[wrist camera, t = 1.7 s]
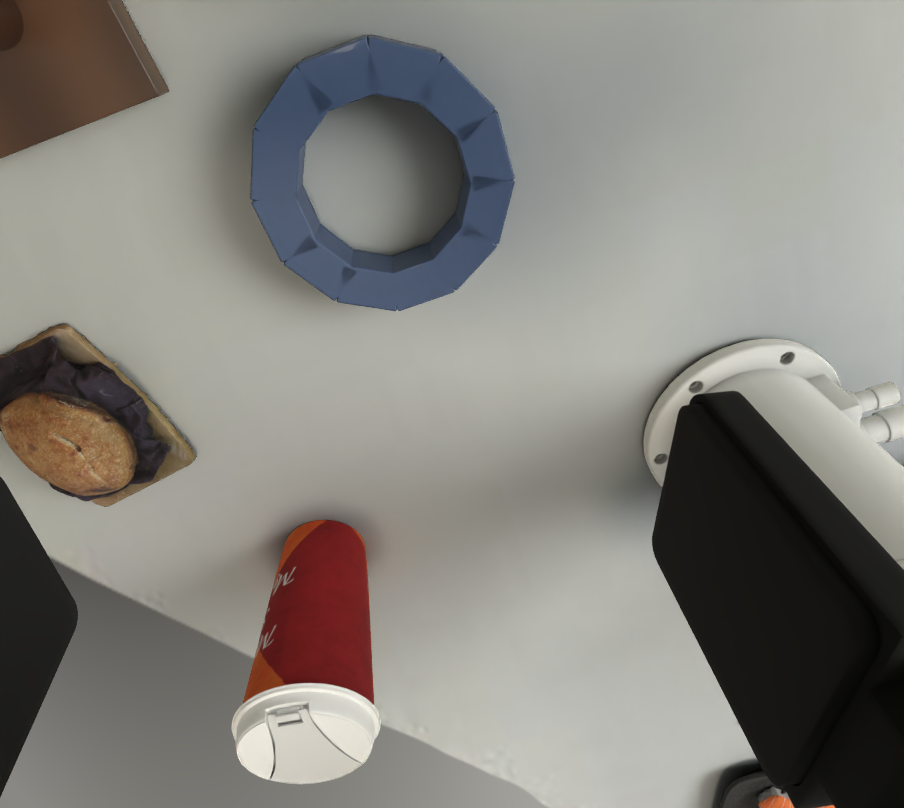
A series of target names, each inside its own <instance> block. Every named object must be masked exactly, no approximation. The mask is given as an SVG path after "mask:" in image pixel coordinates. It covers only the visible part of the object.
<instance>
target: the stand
mask: <svg viewBox="0 0 904 808" xmlns="http://www.w3.org/2000/svg"><path fill="white" fill-rule="evenodd" d="M167 92H169V89H168V88H167V86H166V84H165V82H164V80H163V78H162V76H161V74H160V72H159V71H158V69H157V67H156V65H155V63H154V61H153V59H152V57H151V55H150V53H149V52H148V50H147V48H146V46H145V44H144V42H143V40H142V38H141V36H140V35H139V33H138V31H137V29H136V27H135V25H134V23H133V21H132V19H131V17H130V16H129V14H128V12H127V10H126V8H125V6H124V4H123V2H122V0H0V158H3V157H5V156H8V155H10V154H13V153H15V152H18V151H20V150H23V149H25V148H28V147H31V146H33V145H36V144H38V143H41V142H43V141H46V140H48V139H51V138H53V137H56V136H58V135H61V134H64V133H66V132H69V131H71V130H74V129H76V128H79V127H81V126H84V125H86V124H89V123H91V122H94V121H97V120H99V119H102V118H104V117H107V116H109V115H112V114H114V113H117V112H119V111H122V110H124V109H127V108H130V107H132V106H135V105H137V104H140V103H142V102H145V101H147V100H150V99H152V98H155V97H157V96H160V95H162V94H164V93H167Z"/></svg>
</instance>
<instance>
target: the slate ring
mask: <svg viewBox="0 0 904 808" xmlns="http://www.w3.org/2000/svg"><path fill="white" fill-rule="evenodd" d="M372 94H376V95H381V96H385V97H390V98H395V99H399V100H404V101H408V102H413V103H417V104H421V105H422V106H424V107H425V108H426V109H427V110H428V111H429V112H430V113H431V114H432V115H433V116H434V117H435V118H436V119H437V120H438V121H439V122H440V123H441V124H442V125H443V126H444V127H446V128H447V129H448V130H449V131H450V132H451V133H452V134H453V135H454V138H455V142H456V145H457V148H458V152H459V155H460V158H461V162H462V165H463V168H464V176H463V181H462V185H461V190H460V195H459V200H458V204H457V209H456V213H455V214H454V215H453V217H452V218H451V219H450V220H449V221H448V222H447V223H446V225H445V226H444V227H443V228H442V229H441V230H440V231H439V233H438V234H437V235H436V236H435V237H434V238H433V239H432V241H431V242H430V243H428V244H425V245H422V246H419V247H416V248H414V249H411V250H408V251H405V252H402V253H399V254H397V255H394V256H389V255H383V254H377V253H371V252H365V251H359V250H353V249H352V248H351V247H349V246H348V245H347V244H345V243H344V242H343V241H342V240H340V239H339V238H338V237H336V236H335V235H334V234H333V233H331V232H330V231H329V230H327V229H326V228H325V227H324V226H322V225H321V224H320V222H319V220H318V218H317V216H316V214H315V211H314V209H313V207H312V205H311V202H310V200H309V198H308V196H307V194H306V191H305V189H304V187H303V185H302V180H303V168H304V155H305V143H306V141H307V140H308V139H309V137H310V136H311V134H312V133H313V132H314V130H315V129H316V127H317V126H318V125H319V123H320V122H321V121H322V119H323V118H324V116H325V115H326V114H327V112H328V111H330V110H333V109H335V108H338V107H341V106H343V105H346V104H348V103H351V102H354V101H356V100H359V99H362V98H364V97H367V96H369V95H372ZM254 127H255V128H254V129H253V139H252V166H251V193H250V198H251V199H252V200H253V201H252V205H253V207H254V209H255V211H256V213H257V215H258V217H259V219H260V221H261V223H262V225H263V227H264V229H265V231H266V233H267V235H268V237H269V239H270V241H271V243H272V245H273V247H274V249H275V251H276V253H277V255H278V257H279V259H280V260H281V262H284V265H285V266H286V267H288V268H289V269H291V270H292V271H293V272H295V273H296V274H297V275H299V276H300V277H302V278H303V279H304V280H306V281H307V282H309V283H310V284H311V285H313V286H314V287H316V288H317V289H318V290H320V291H321V292H322V293H324V294H325V295H327V296H328V297H329V298H331V299H332V300H334V301H335V300H336V299H337V302H339V303H346V304H352V305H359V306H366V307H372V308H379V309H385V310H392V311H396V310H397V309H398V311H401V310H404V309H407V308H410V307H412V306H415V305H418V304H421V303H424V302H427V301H430V300H433V299H436V298H439V297H442V296H444V295H447V294H450V293H453V292H454V289H455V290H457V289H458V288H459V287H460V286H461V285H462V284H463V283H464V282H465V281H466V280H467V279H468V278H469V276H470V275H471V274H472V273H473V272H474V271H475V270H476V269H477V268H478V267H479V266H480V265H481V264H482V262H483V261H484V260H485V259H486V258H487V257H488V256H489V255H490V254H491V253H492V252H493V251H494V249H495V248H496V247H497V245H496V244H499V241H500V237H501V234H502V230H503V226H504V222H505V218H506V214H507V210H508V206H509V202H510V198H511V194H512V190H513V186H514V180H513V179H514V174H513V170H512V166H511V162H510V158H509V154H508V150H507V147H506V143H505V139H504V135H503V131H502V127H501V123H500V119H499V116H498V112H497V111H496V110H495V107H494V106H493V105H492V104H491V103H490V102H489V101H488V100H487V99H486V98H485V97H484V96H483V95H482V94H481V93H480V92H479V91H478V90H477V89H476V88H475V87H474V86H473V84H472V83H471V82H470V81H469V80H468V79H467V78H466V77H465V76H464V75H463V74H462V73H461V72H460V71H459V70H458V69H457V68H456V67H455V66H454V65H453V64H452V63H451V62H450V61H449V60H448V59H447V58H446V57H445V56H444V55H443V54H442V53H440V52H439V53H438V52H437V51H436V50H434V49H430V48H426V47H422V46H418V45H413V44H409V43H405V42H401V41H396V40H392V39H388V38H384V37H380V36H375V35H370V36H369V38H368V36H367V35H364V36H361V37H359V38H356V39H353V40H351V41H348V42H346V43H343V44H341V45H338V46H335V47H333V48H330V49H328V50H325V51H323V52H320V53H318V54H315V55H312V56H310V57H307V58H305V59H303V60H302V61H300V62H299V63H298V64H297V65H295V66H294V67H293V69H292V70H291V72H290V73H289V75H288V76H287V77H286V79H285V80H284V82H283V83H282V85H281V86H280V88H279V89H278V91H277V92H276V94H275V95H274V97H273V98H272V100H271V101H270V103H269V104H268V106H267V107H266V109H265V110H264V111H263V113H262V114H261V116H260V117H259V119H258V120H257V122H256V123H255V125H254Z"/></svg>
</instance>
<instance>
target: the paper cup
mask: <svg viewBox="0 0 904 808" xmlns="http://www.w3.org/2000/svg"><path fill="white" fill-rule="evenodd" d="M380 724H381V719H380V715H379V712H378V711H377V709H376V707H375V706H374V693H373V673H372V652H371V631H370V611H369V592H368V574H367V560H366V550H365V544H364V541H363V539H362V537H361V535H360V534H359V533H358V532H357V531H356V530H355V529H353V528H352V527H350V526H349V525H346V524H344V523H341V522H338V521H332V520H317V521H312V522H308V523H305V524H303V525H301V526H299V527H298V528H296V529H295V530H294V531H293V532H292V533H291V534H290V535H289V537H288V538H287V540H286V543H285V546H284V549H283V552H282V555H281V559H280V562H279V566H278V570H277V574H276V577H275V581H274V585H273V589H272V592H271V596H270V600H269V604H268V608H267V612H266V616H265V619H264V623H263V627H262V631H261V635H260V639H259V643H258V647H257V651H256V654H255V658H254V662H253V666H252V670H251V674H250V678H249V682H248V686H247V690H246V693H245V698H244V701H243V704H242V705H241V706H240V707H239V708H238V710H237V711H236V713H235V715H234V717H233V720H232V733H233V736H234V738H235V741H236V751H237V756H238V758H239V760H240V762H241V763H242V765H243V766H244V767H245V768H246V769H247V770H249V771H250V772H252V773H253V774H255V775H257V776H259V777H261V778H264V779H267V780H269V778H270V780H271V781H277V782H283V783H290V784H312V783H319V782H324V781H328V780H333V779H336V778H339V777H342V776H344V775H346V774H348V773H350V772H352V771H353V770H355V769H356V768H358V767H359V766H361V765H362V764H363V763H364V762H365V761H366V760H367V758H368V756H369V755H370V752H371V749H372V746H373V742H374V740H375V738H376V737H377V735H378V733H379V730H380Z"/></svg>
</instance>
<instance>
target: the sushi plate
mask: <svg viewBox="0 0 904 808" xmlns="http://www.w3.org/2000/svg"><path fill="white" fill-rule="evenodd" d="M720 808H794V806H793V804H792V802H791V800H790V798H789V796H788V794H787V792H786V790H785V788H784V787H783V786H776V785H775V784H773V783H772V782H771V781H770V780H769V779H768V777H767V776H766V774H765V773H764V771H763V770H760V771H756V772H754V773H752V774H750V775H746V776H743V777H740V778H738V779H736V780H734V781H733V782H732V783H731V784H730V785H729V786H728V787H727V789H726V791H725V793H724V795H723V798H722V801H721V805H720ZM818 808H835V806H834V805H831V806H824V807H818Z"/></svg>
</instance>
